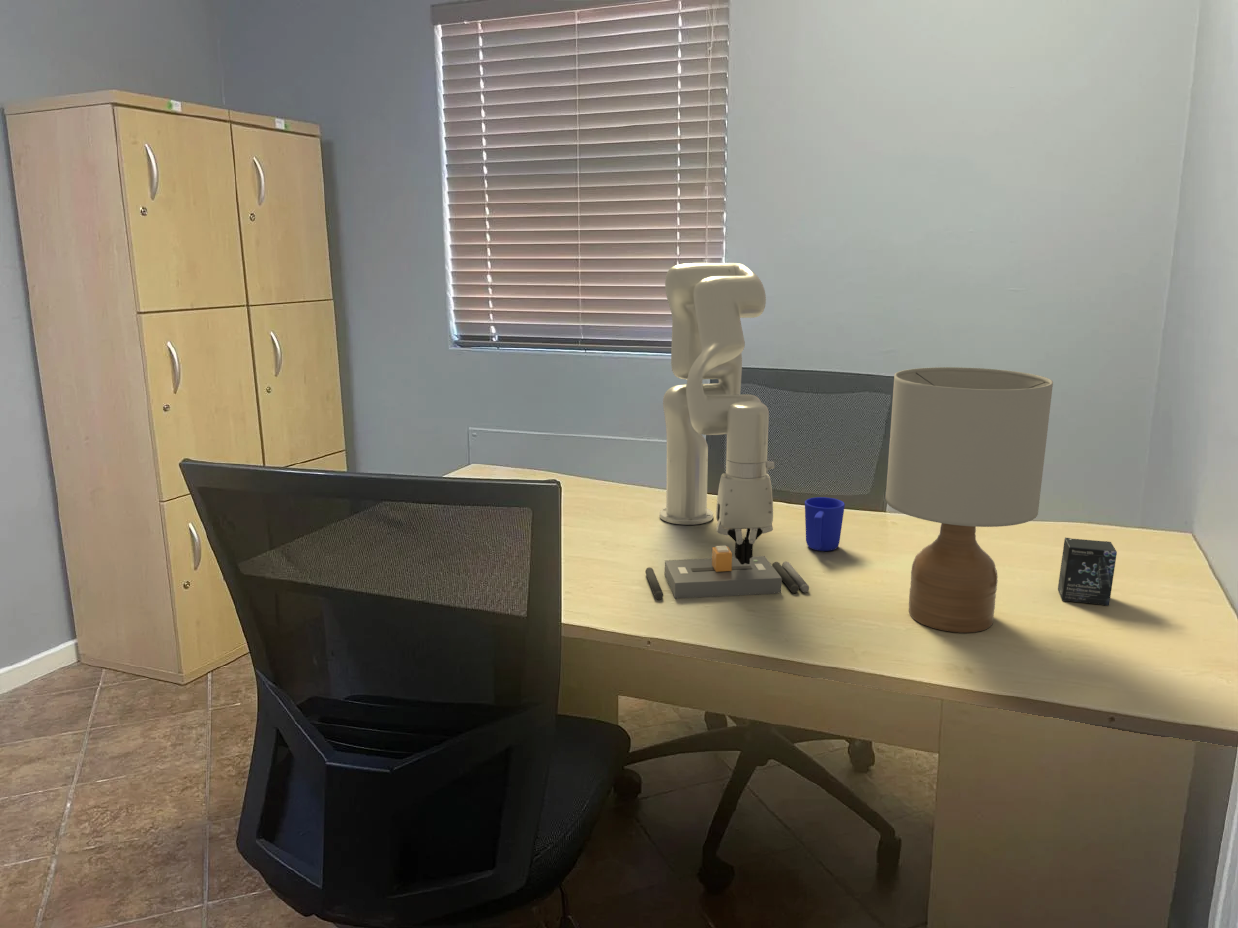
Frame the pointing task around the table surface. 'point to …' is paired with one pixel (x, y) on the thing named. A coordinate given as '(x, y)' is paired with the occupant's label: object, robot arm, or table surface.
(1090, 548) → the box
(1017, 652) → the table surface
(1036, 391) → the lamp
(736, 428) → the robot arm
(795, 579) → the light grey rod
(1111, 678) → the table surface
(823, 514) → the mug
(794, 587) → the grey capsule
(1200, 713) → the table surface
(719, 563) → the block
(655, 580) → the dark grey rounded rod
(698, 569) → the slider switch box
